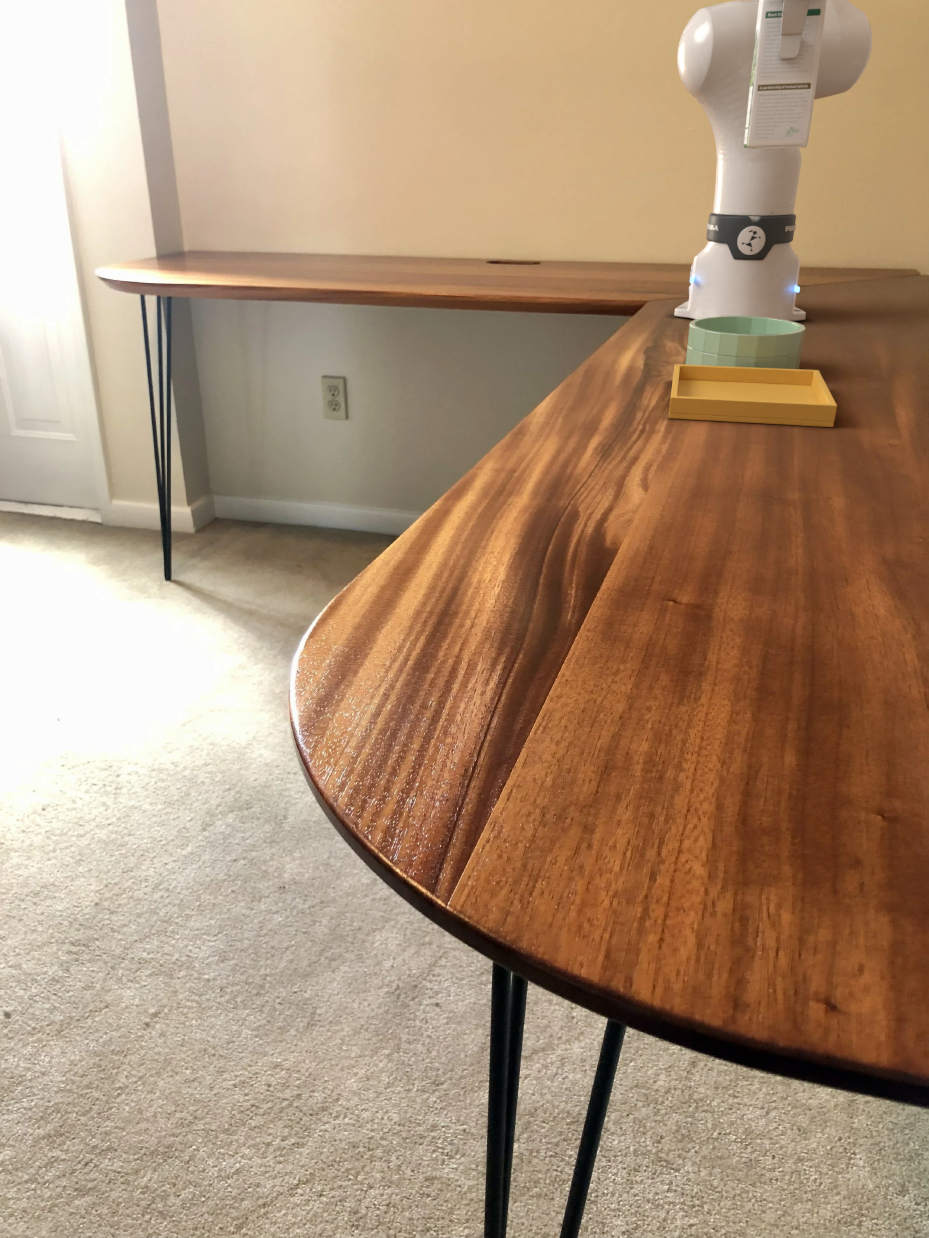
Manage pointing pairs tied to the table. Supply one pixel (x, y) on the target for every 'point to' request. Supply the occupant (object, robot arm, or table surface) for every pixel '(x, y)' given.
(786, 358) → the bowl
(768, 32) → the syrup box
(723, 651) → the table surface
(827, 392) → the tray
